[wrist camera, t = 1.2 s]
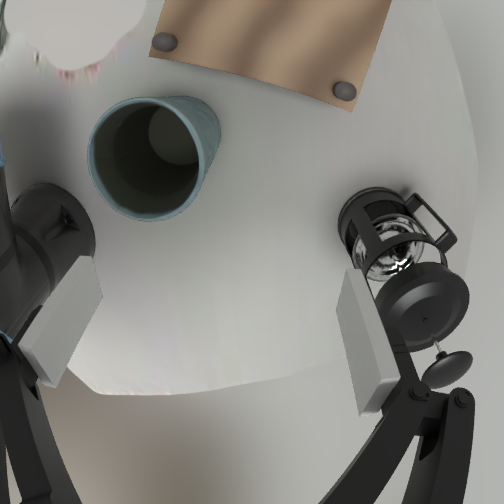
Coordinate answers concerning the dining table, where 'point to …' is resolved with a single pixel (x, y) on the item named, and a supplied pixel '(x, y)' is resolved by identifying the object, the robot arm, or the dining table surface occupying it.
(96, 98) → the dining table surface
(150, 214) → the teal plant pot
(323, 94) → the wooden board with feet
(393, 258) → the french press
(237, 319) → the dining table surface
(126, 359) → the dining table surface
